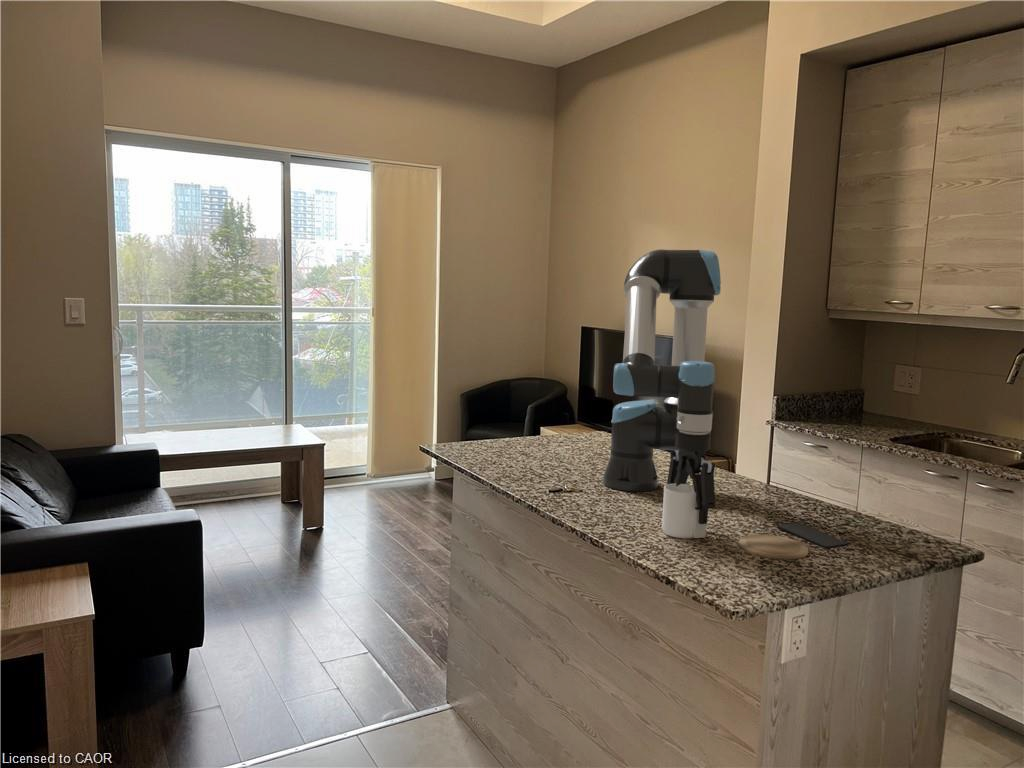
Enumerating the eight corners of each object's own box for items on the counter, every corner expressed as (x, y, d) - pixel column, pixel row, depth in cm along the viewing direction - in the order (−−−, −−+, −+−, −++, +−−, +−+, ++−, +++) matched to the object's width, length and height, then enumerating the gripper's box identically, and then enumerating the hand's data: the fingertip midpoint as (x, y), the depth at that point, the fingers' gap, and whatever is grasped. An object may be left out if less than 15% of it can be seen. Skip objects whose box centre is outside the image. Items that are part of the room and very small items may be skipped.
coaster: (725, 540, 161) (725, 537, 161) (777, 534, 166) (777, 531, 166) (768, 562, 148) (768, 559, 148) (823, 555, 153) (823, 552, 153)
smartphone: (825, 547, 157) (774, 525, 171) (825, 551, 158) (774, 528, 171) (851, 543, 160) (798, 521, 174) (850, 547, 161) (798, 525, 174)
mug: (695, 523, 172) (698, 480, 171) (720, 534, 165) (723, 489, 164) (654, 529, 167) (656, 485, 166) (677, 541, 160) (680, 494, 158)
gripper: (653, 423, 172) (648, 518, 174) (707, 441, 152) (700, 547, 155) (681, 422, 174) (675, 515, 177) (737, 439, 155) (730, 544, 157)
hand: (687, 530), depth 166 cm, fingers closed on mug, 8 cm apart
